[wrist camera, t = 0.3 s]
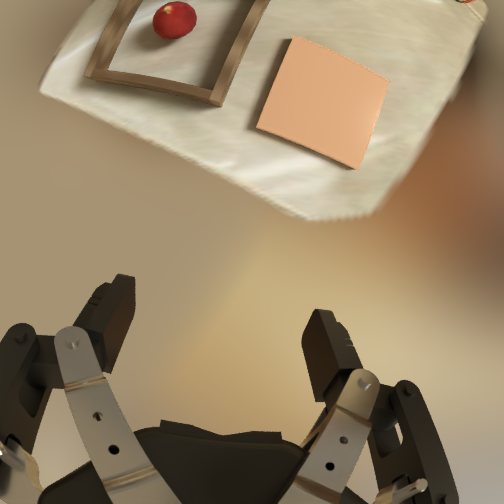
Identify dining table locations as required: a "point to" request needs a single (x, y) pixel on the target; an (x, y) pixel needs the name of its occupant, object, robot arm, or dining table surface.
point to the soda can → (466, 1)
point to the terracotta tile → (324, 102)
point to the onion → (174, 20)
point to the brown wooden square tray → (215, 97)
